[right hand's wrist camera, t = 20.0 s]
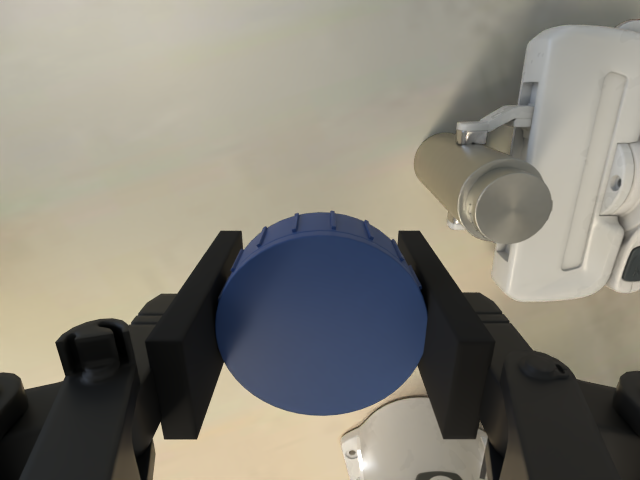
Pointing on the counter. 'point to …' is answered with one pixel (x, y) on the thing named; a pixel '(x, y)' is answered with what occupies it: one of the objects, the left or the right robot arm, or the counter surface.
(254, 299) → the lid
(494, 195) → the jar
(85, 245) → the counter surface
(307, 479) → the counter surface
